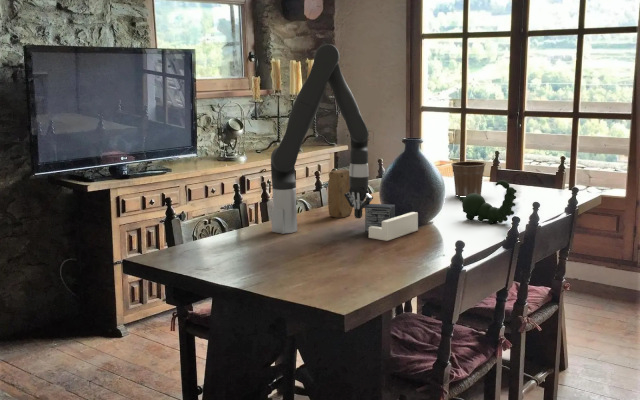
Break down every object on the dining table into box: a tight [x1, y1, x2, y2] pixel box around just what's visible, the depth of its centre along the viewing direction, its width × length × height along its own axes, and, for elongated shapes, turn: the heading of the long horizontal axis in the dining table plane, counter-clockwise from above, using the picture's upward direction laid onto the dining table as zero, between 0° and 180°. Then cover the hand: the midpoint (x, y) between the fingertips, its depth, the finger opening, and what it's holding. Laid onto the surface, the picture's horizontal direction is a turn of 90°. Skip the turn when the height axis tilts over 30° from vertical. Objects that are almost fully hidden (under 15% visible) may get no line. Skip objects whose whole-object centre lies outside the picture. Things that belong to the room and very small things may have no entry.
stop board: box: [368, 211, 419, 241], centre depth 262 cm, size 20×8×7 cm, turn 139°
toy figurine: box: [457, 180, 517, 224], centre depth 279 cm, size 9×19×25 cm
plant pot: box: [450, 160, 486, 196], centre depth 334 cm, size 16×16×16 cm
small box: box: [364, 203, 396, 234], centre depth 266 cm, size 11×6×10 cm, turn 69°
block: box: [327, 168, 354, 219], centre depth 295 cm, size 11×8×20 cm
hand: (358, 217), depth 273 cm, fingers closed
